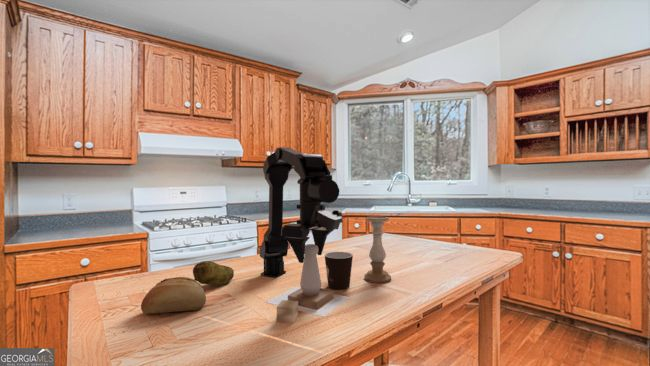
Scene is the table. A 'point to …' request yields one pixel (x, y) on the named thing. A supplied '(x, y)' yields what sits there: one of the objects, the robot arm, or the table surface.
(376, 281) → the candle holder
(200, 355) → the table surface
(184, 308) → the bread roll
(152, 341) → the table surface
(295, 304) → the maple block
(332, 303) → the white flat rectangular panel
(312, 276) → the salt shaker
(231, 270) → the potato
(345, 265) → the coffee mug
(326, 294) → the walnut base block
